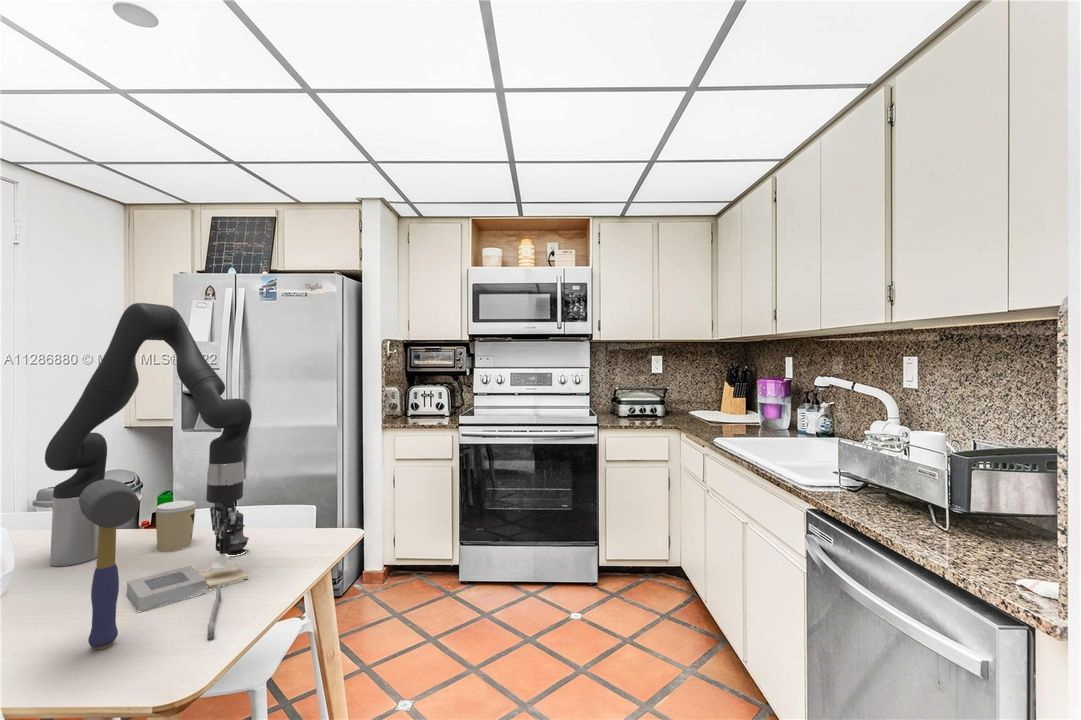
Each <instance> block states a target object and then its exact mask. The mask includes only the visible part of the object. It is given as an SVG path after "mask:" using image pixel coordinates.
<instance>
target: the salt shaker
mask: <svg viewBox="0 0 1081 720" xmlns="http://www.w3.org/2000/svg"><path fill="white" fill-rule="evenodd" d="M239 511H240V510H238V509H236V514H235V516H236V515H239V521H238V525H237V529H236V533H235V536H232V537H231V549H230V552H229V553H226V554H228V555H237V554H241V553H243V552H245V551H246V550H247V549H245V547H246V546H247V545H248V541H249V539H250V538H249V536H248V537H247V536H245V534H244V527H245V524H244V514H243V513H242V512H239Z"/></svg>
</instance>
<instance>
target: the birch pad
mask: <svg viewBox="0 0 1081 720" xmlns="http://www.w3.org/2000/svg"><path fill="white" fill-rule="evenodd" d="M199 573H200V574H201V575H202V576H203V577H204V578H205V579H206V586H207V587H208V588H209V589H213V588H216V589H217V585H218V584H220V583H221V586H223V585H227V584H230V585H232V584H231V583H234V582H237V581H241V580H244V579H248V580H249V575H248V574H247V573H246V572H245V571H244V570H242V569H241V568H240V567H238V566H237V565H236V564H234V566H233V567H232V568H230V569H227V570H223V571H211V570H207V571H203V572H199ZM244 581H245V580H244ZM241 582H242V581H241ZM237 583H238V582H237ZM234 584H235V583H234ZM227 586H228V585H227ZM207 587H206V588H207ZM223 587H224V586H223ZM208 588H207V589H208ZM209 589H208V590H209ZM213 590H214V589H213Z"/></svg>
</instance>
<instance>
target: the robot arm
mask: <svg viewBox="0 0 1081 720" xmlns="http://www.w3.org/2000/svg"><path fill="white" fill-rule="evenodd" d="M146 341H164V342H165V344H167V345H168V346H170V348H171V349H172V351H174V353H175V356H176V372H177V375H178V378H179V380H180V381H181V383H182V384H183V385H184V387H185V388H186V389H187V390H188V392H189V393H190V394H191V396H193V399H194V401H195V404H196V407H197V410H198V412H199V416H200V418H201V420H202V421H203V423H204V424H206V425H207V426H208V427H210V428H212V429H217V430H220V429H222V432H221V434H220V436H218V437H216V438H215V439H212V440H211V442H210V443H209V450H208V451H209V453H208V454H209V455H208V468H207V474H206V475H207V476H206V497H205V498H206V499H205V500H206V502H208V503H210V504H214V506H212V507H210V508H209V511H210V519H211V521H210V522H211V529H212V531H213V532H214V535H215V551H216V552H218V553H219V554H225V553H229V552H230V549H231V537H232V536H235V533H236V529H237V525H238V521H239V515H236V516H235V514H236V513H237V512H236V511H237V507H236V506H235V502H236V501H240V500H241V499H242V498H243V497H244V477H245V476H244V473H245V472H244V469H245V468H244V443H245V441H246V438H247V435H248V432H249V429H250V426H251V421H252V419H253V418H252V415H253V413H252V408H251V406H250V404H249V402H248V401H246V400H245V399H242V398H226V399H224V398H223V397H222V395H223V393H224V392H225V390H226V386H225V382H224V381H223V380H222V378H221V377H220V376H219V374H218V373H217V372H216V371H215V369H214V368H213V367H212V366H211V365H210V364H209V363H208V361H207V360H206V358H205V356H204V355H203V354H202V352H201V350H200V348H199V347H198V344H197V343H196V340H195V339H194V337H193V335H192V333H191V332H190V330H189V328H188V326H187V324H186V321H184V319H183V317H182V315H181V314H180V313H179V311H178V310H177V309H175V308H174V307H173V306H169V305H165V304H156V303H148V302H147V303H146V302H136V303H132V304H131V305H129V306H128V307H127V308H126V309H125V310H124V311H123V313H122V314H121V316H120V319H119V321H118V324H117V326H116V328H115V331H114V333H113V335H112V338H111V340H110V343H109V344H108V348H107V349H106V351H105V353H104V355H103V357H102V359H101V360H100V363H99V365H98V366H97V367H96V370H95V371H94V372H93V374H92V375H91V377H90V379H89V381H88V382H87V385H86V386H85V388H84V390H83V391H82V393H81V396H80V397H79V399H78V401H77V402H76V404H75V406H74V407H73V409H72V411H71V412H70V414H69V415H68V417H67V418H66V419H65V421H64V422H63V423H62V425H61V426H60V427H59V428H58V430H57V431H56V433H55V434H54V435H53V437H51V439H50V441H48V442H49V443H48V444H47V447H46V449H45V454H44V462H45V466H46V467H47V468H49V469H50V470H52V471H54V472H55V471H56V472H65V471H66V472H67V471H74V470H76V472H74V474H73V475H72V476H71V477H69V478H67V479H66V480H64V481H62V482H60V483H57V484H56V485H55V486H54V487H53V490H52V491H53V492H52V518H51V538H50V556H49V564H50V566H53V567H64V566H65V567H66V566H74V565H78V564H83V563H86V562H89V561H92V560H94V559H97V549H98V531H99V526H98V525H96V524H94V523H93V522H91V521H89V520H88V519H87V518H86V517H85V516H84V515H83V513H82V511H81V509H80V504H79V498H80V494H81V493H82V492H83V490H84V489H85V488H86V487H87V486H88V485H90V484H92V483H94V482H96V481H99V480H103V479H105V477H106V465H107V459H108V445H107V440H106V438H105V437H104V436H103V435H102V434H101V433H100V432H92V431H93V430H94V429H96V428H97V427H98V426H99V425H101V424H103V423H104V422H106V421H107V420H109V419H110V418H111V417H114V416H115V415H116V414H117V413H119V412H120V411H121V410H122V409H124V408H125V407H126V406H127V404H128V403H129V402H130V400H131V399H132V396H133V395H134V393H135V392H136V390H137V388H138V386H139V381H140V379H139V378H140V377H139V373H138V368H137V365H136V362H135V360H136V359H135V358H136V356H137V354H138V353H139V349H140V348H141V346H142V345H143V344H144V342H146ZM219 534H220V536H219ZM219 537H220V538H219ZM218 544H219V546H218Z"/></svg>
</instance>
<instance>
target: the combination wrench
mask: <svg viewBox="0 0 1081 720" xmlns="http://www.w3.org/2000/svg"><path fill="white" fill-rule="evenodd" d="M215 593H216V594H215V600H214V601H213V602H214V603H213V606H212V609H211V613H210V618H209V621H208V623H207V640H212V639H214V638H215V620H216V616H217V611H218V608H219V603H220V602H221V599H222V587H221V583H220V584H218V585H217V588H216V592H215Z"/></svg>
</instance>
